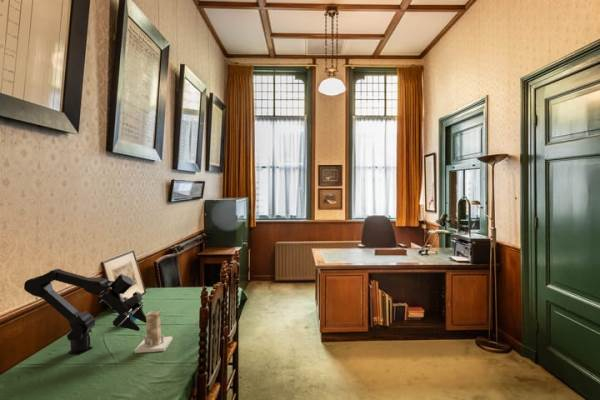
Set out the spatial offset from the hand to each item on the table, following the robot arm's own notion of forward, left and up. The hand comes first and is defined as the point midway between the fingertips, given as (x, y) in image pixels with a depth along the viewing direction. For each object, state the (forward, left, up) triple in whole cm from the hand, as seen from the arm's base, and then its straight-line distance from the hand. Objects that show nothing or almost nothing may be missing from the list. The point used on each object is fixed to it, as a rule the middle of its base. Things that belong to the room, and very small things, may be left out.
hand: (143, 326), depth 147 cm
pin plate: (+2, -4, -9) cm, 10 cm away
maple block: (+2, -4, -8) cm, 9 cm away
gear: (+19, +29, -9) cm, 36 cm away
